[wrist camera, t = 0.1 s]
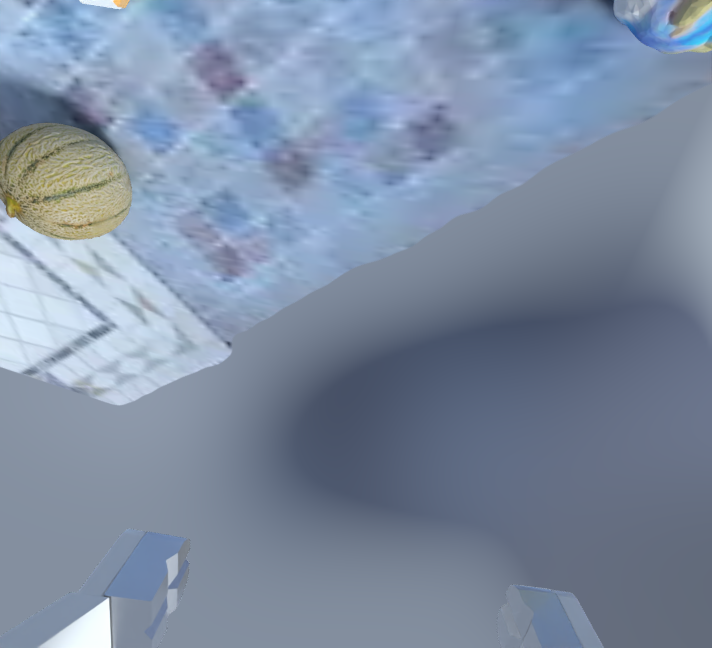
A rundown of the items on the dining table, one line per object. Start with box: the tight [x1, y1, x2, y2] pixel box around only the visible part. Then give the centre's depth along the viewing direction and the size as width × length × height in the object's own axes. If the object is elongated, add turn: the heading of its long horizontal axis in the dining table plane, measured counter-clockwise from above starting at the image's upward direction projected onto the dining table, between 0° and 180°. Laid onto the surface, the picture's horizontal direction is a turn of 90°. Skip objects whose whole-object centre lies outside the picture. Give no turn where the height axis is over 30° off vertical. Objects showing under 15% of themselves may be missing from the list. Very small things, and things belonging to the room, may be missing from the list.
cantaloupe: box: [0, 123, 132, 240], centre depth 50 cm, size 15×15×15 cm
